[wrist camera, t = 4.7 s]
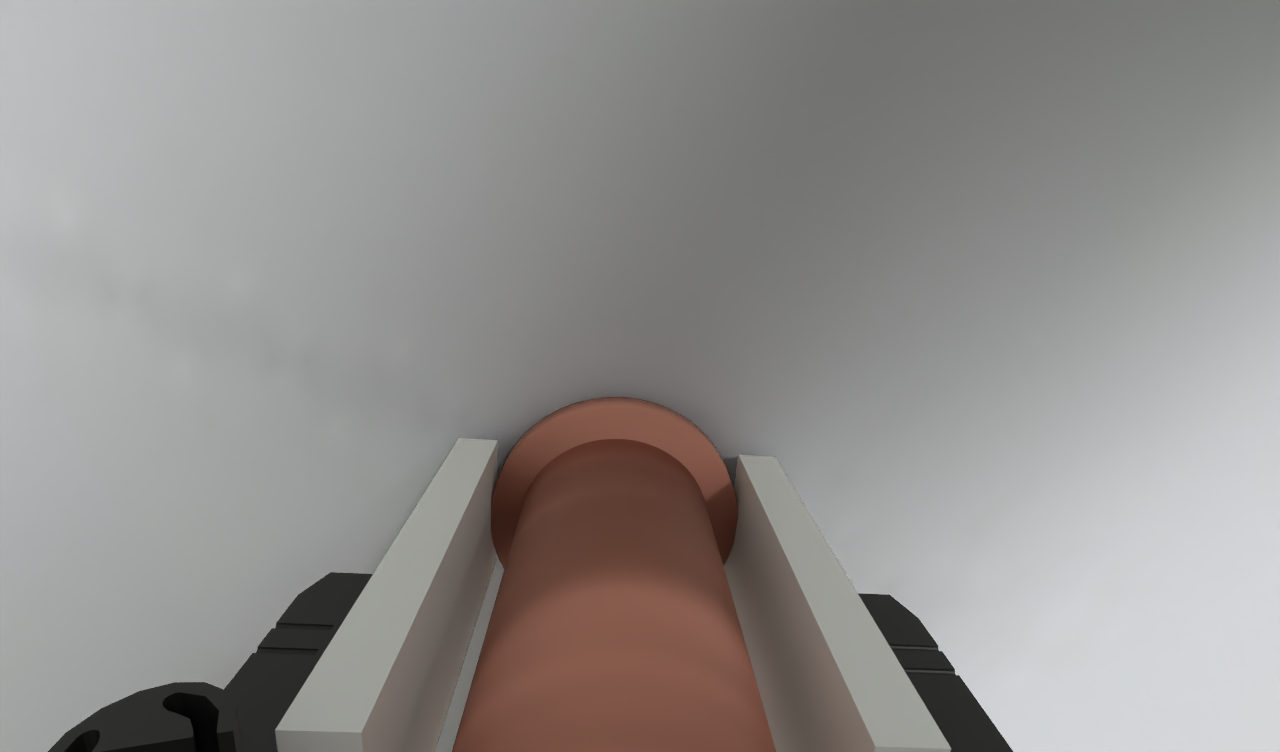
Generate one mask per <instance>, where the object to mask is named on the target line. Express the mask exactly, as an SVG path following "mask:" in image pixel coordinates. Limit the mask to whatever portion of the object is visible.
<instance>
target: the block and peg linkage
mask: <svg viewBox="0 0 1280 752" xmlns="http://www.w3.org/2000/svg"><path fill="white" fill-rule="evenodd" d="M737 521H738V511H737V500H736V496H735V491H734V487H733V485H732V482H731V480H730V477H729V474H728V472H727V469H726V467H725V464H724V462H723V460H722V458H721V456H720V454H719V452H718V451H717V449H716V447H715V446H714V445H713V443H712V442H711V441H710V440H709V438H708V437H707V436H706V435H705V434H704V433H703V432H702V431H701V430H700V429H699V428H698V427H697V426H696V425H694V424H693V423H692V422H690V421H689V420H688V419H686V418H685V417H683V416H682V415H680V414H678V413H676V412H675V411H673V410H671V409H668V408H666V407H663V406H661V405H658V404H656V403H652V402H648V401H644V400H641V399H633V398H625V397H606V398H597V399H590V400H586V401H582V402H578V403H574V404H572V405H569V406H567V407H564V408H561V409H559V410H557V411H555V412H554V413H552V414H550V415H548V416H546V417H545V418H543V419H542V420H541V421H539V422H538V423H537V424H535V425H534V426H533V427H532V428H531V429H529V430H528V431H527V432H526V433H525V434H524V435H523V436H522V437H521V439H520V440H519V441H518V442H517V444H516V445H515V446H514V447H513V449H512V451H511V452H510V454H509V456H508V457H507V459H506V461H505V464H504V466H503V468H502V471H501V473H500V476H499V478H498V481H497V483H496V486H495V488H494V492H493V497H492V501H491V535H492V540H493V544H494V547H495V550H496V553H497V555H498V558H499V560H500V562H501V564H502V565H503V567H504V569H505V570H504V573H503V577H502V580H501V583H500V587H499V590H498V594H497V597H496V601H495V604H494V608H493V611H492V615H491V618H490V622H489V625H488V629H487V632H486V636H485V639H484V642H483V646H482V649H481V653H480V656H479V660H478V663H477V667H476V670H475V674H474V677H473V681H472V684H471V688H470V691H469V695H468V698H467V701H466V705H465V708H464V712H463V715H462V719H461V722H460V726H459V729H458V733H457V736H456V740H455V743H454V747H453V750H452V752H776V749H775V746H774V742H773V739H772V735H771V732H770V728H769V724H768V721H767V717H766V714H765V710H764V707H763V703H762V700H761V696H760V693H759V689H758V686H757V682H756V679H755V675H754V672H753V668H752V665H751V661H750V658H749V654H748V651H747V647H746V644H745V640H744V637H743V633H742V630H741V626H740V623H739V619H738V616H737V612H736V609H735V605H734V601H733V598H732V594H731V591H730V587H729V584H728V580H727V577H726V573H725V570H724V564H725V563H726V561H727V559H728V557H729V555H730V552H731V549H732V547H733V544H734V540H735V534H736V527H737Z"/></svg>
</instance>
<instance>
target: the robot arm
mask: <svg viewBox="0 0 1280 752" xmlns="http://www.w3.org/2000/svg"><path fill="white" fill-rule="evenodd" d="M497 467H498V440H486V439H469V438H458V440H457V442H456V443H455V445H454V446H453V448H452V449H451V451H450V453H449V454H448V456H447V457H446V459H445V461H444V462H443V464H442V465H441V467H440V469H439V470H438V472H437V473H436V475H435V477H434V478H433V480H432V481H431V483H430V484H429V486H428V488H427V489H426V491H425V492H424V494H423V496H422V497H421V499H420V500H419V502H418V504H417V505H416V507H415V508H414V510H413V512H412V513H411V515H410V516H409V518H408V519H407V521H406V523H405V524H404V526H403V527H402V529H401V531H400V532H399V534H398V535H397V537H396V539H395V540H394V542H393V543H392V545H391V547H390V548H389V550H388V551H387V553H386V554H385V556H384V558H383V559H382V561H381V562H380V564H379V566H378V567H377V569H376V570H375V572H374V574H355V573H332V572H331V573H329V574H328V575H326V576H325V577H324V578H322V579H321V580H319V581H318V582H316V583H315V584H313V585H312V586H310V587H309V588H308V589H306V590H305V591H303V592H302V593H300V594H299V595H298V596H297V597H296V598H295V600H294V601H293V602H292V604H291V605H290V606H289V607H288V609H287V610H286V611H285V613H284V614H283V615H282V616H281V618H280V619H279V620H278V621H277V623H276V628H275V629H274V628H272V629H271V630H270V632H269V633H268V634H267V636H266V637H265V638H264V639H263V641H262V642H261V643H260V645H259V646H258V649H257V652H256V653H252V655H251V656H250V657H249V659H248V660H247V661H246V662H245V664H244V665H243V666H242V668H241V669H240V670H239V671H238V673H237V674H236V675H235V677H234V678H233V679H232V680H231V682H230V683H229V684H228V685H227V687H226V688H225V689H224V690H223V689H220V688H218V687H215V686H213V685H210V684H208V683H205V682H183V683H171V684H167V685H163V686H159V687H155V688H151V689H147V690H143V691H139V692H137V693H135V694H132V695H130V696H128V697H126V698H124V699H121V700H119V701H117V702H115V703H113V704H110V705H108V706H106V707H104V708H101V709H100V710H99V711H97V712H96V713H94V714H93V715H91V716H90V717H88V718H87V719H85V720H84V721H82V722H81V723H80V724H78V725H77V726H75V727H74V728H72V729H71V730H69V731H68V732H66V733H65V734H64V735H63V736H62V738H61V739H60V740H59V741H58V742H57V743H56V744H55V745H54V746H53V747H52V748H51V749H50V750H49V751H48V752H435V749H436V746H437V743H438V740H439V737H440V734H441V731H442V727H443V724H444V721H445V718H446V715H447V712H448V709H449V706H450V702H451V699H452V696H453V693H454V690H455V687H456V684H457V681H458V677H459V674H460V671H461V668H462V665H463V662H464V659H465V656H466V652H467V649H468V646H469V643H470V640H471V637H472V634H473V631H474V627H475V624H476V621H477V618H478V615H479V612H480V609H481V606H482V602H483V599H484V596H485V593H486V590H487V587H488V584H489V581H490V577H491V574H492V571H493V568H494V565H495V562H496V550H495V547H494V544H493V540H492V535H491V501H492V497H493V492H494V488H495V486H496V483H497ZM734 491H735V496H736V500H737V511H738V521H737V527H736V534H735V540H734V544H733V547H732V549H731V552H730V555H729V557H728V559H727V561H726V563H725V564H724V570H725V573H726V577H727V580H728V584H729V587H730V591H731V594H732V598H733V601H734V605H735V609H736V612H737V616H738V619H739V623H740V626H741V630H742V633H743V637H744V640H745V644H746V647H747V651H748V654H749V658H750V661H751V665H752V668H753V672H754V675H755V679H756V682H757V686H758V689H759V693H760V696H761V700H762V703H763V707H764V710H765V714H766V717H767V721H768V724H769V728H770V732H771V735H772V739H773V742H774V746H775V749H776V752H1013V751H1012V749H1011V748H1010V747H1009V745H1008V744H1007V742H1006V741H1005V739H1004V738H1003V737H1002V735H1001V734H1000V732H999V731H998V730H997V728H996V727H995V725H994V724H993V723H992V721H991V720H990V718H989V717H988V716H987V714H986V713H985V711H984V710H983V708H982V707H981V706H980V704H979V703H978V701H977V700H976V699H975V697H974V696H973V694H972V693H971V692H970V690H969V689H968V687H967V686H966V685H965V683H964V682H963V680H962V679H961V678H960V676H958V675H955V669H954V668H953V666H952V665H951V663H950V662H949V661H948V659H947V658H946V656H945V655H944V654H943V652H942V651H939V650H938V645H937V644H936V642H935V641H934V639H933V638H932V637H931V635H930V634H929V632H928V631H927V630H926V628H925V627H924V625H923V624H922V623H921V621H920V620H919V618H917V617H916V616H915V615H914V614H912V613H911V612H910V611H909V610H908V609H906V608H905V607H904V606H903V605H901V604H900V603H899V602H898V601H896V600H895V599H894V598H893V597H891V596H890V595H880V594H858V593H857V591H856V590H855V588H854V586H853V585H852V583H851V581H850V580H849V578H848V576H847V575H846V573H845V571H844V570H843V568H842V566H841V565H840V563H839V562H838V560H837V558H836V557H835V555H834V553H833V552H832V550H831V548H830V547H829V545H828V543H827V542H826V540H825V538H824V537H823V535H822V533H821V532H820V530H819V528H818V527H817V525H816V523H815V522H814V520H813V518H812V517H811V515H810V513H809V512H808V510H807V508H806V507H805V505H804V503H803V502H802V500H801V498H800V497H799V495H798V494H797V492H796V490H795V489H794V487H793V485H792V484H791V482H790V480H789V479H788V477H787V475H786V474H785V472H784V470H783V469H782V467H781V465H780V464H779V462H778V460H777V459H776V457H773V456H756V455H738V462H737V468H736V475H735V482H734Z"/></svg>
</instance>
